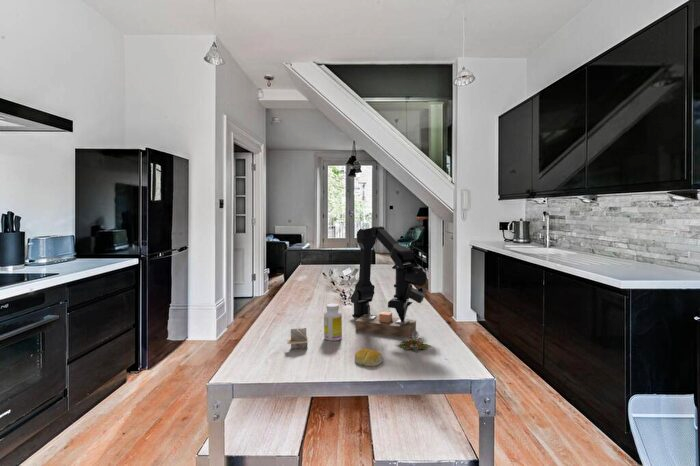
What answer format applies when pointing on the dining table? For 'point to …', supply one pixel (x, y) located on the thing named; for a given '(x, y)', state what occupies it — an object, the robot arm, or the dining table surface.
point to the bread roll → (368, 357)
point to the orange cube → (385, 317)
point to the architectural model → (298, 338)
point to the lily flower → (413, 342)
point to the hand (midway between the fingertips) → (402, 320)
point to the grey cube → (369, 317)
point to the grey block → (402, 322)
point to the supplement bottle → (332, 323)
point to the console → (386, 327)
